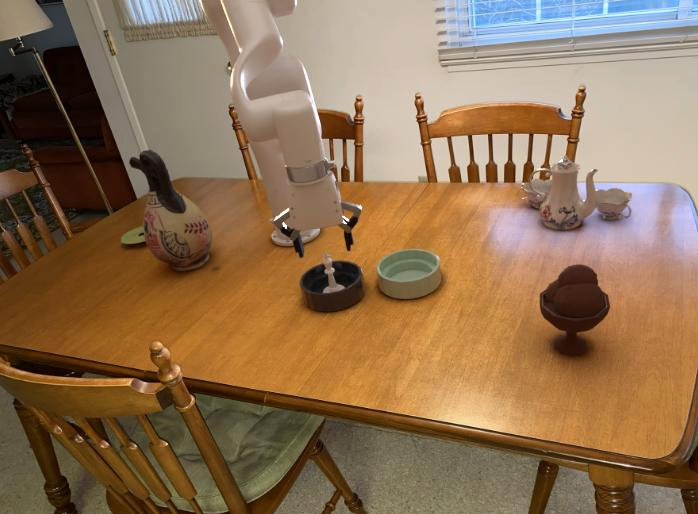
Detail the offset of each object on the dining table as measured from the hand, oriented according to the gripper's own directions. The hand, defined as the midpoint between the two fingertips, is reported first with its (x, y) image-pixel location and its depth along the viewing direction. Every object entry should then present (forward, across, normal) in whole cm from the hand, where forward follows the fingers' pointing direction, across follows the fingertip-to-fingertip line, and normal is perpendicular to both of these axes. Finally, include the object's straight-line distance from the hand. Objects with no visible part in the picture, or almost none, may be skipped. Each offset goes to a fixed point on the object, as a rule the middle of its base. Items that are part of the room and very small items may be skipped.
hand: (325, 251), depth 111 cm
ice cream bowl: (+12, -42, +26) cm, 50 cm away
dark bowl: (+11, 0, 0) cm, 11 cm away
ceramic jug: (+10, +38, -24) cm, 46 cm away
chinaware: (+11, -56, -21) cm, 61 cm away
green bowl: (+11, -16, -1) cm, 19 cm away
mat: (+10, +56, -42) cm, 71 cm away
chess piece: (+11, 0, 0) cm, 11 cm away
